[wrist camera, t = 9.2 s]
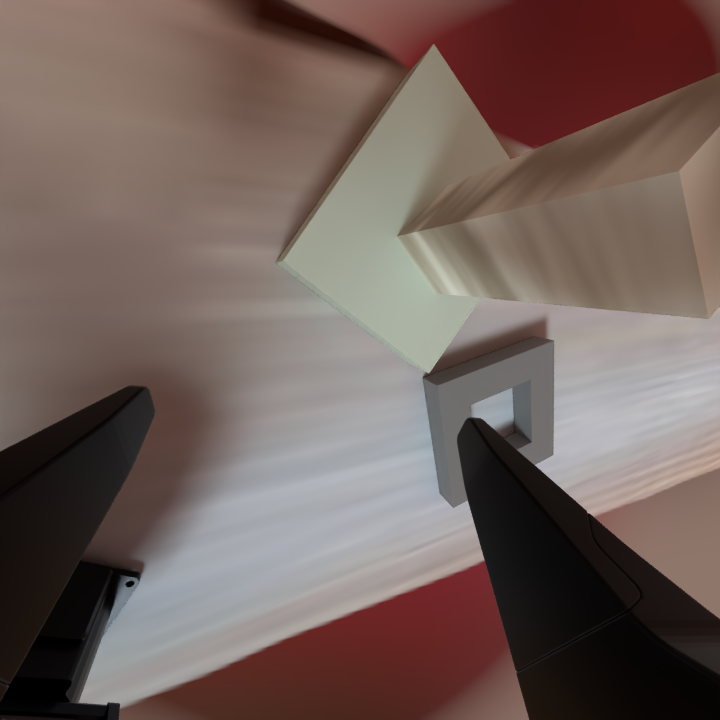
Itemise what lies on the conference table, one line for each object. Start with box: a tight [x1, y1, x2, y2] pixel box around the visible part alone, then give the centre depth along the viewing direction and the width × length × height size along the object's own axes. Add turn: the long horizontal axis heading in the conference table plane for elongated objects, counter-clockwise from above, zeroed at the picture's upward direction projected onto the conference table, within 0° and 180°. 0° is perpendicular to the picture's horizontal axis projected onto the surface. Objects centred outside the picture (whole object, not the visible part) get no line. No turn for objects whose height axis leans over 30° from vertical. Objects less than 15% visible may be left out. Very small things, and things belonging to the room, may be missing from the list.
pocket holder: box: [423, 337, 554, 508], centre depth 28 cm, size 12×12×2 cm
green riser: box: [276, 44, 510, 373], centre depth 21 cm, size 14×12×3 cm
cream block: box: [397, 73, 720, 319], centre depth 14 cm, size 4×4×13 cm
